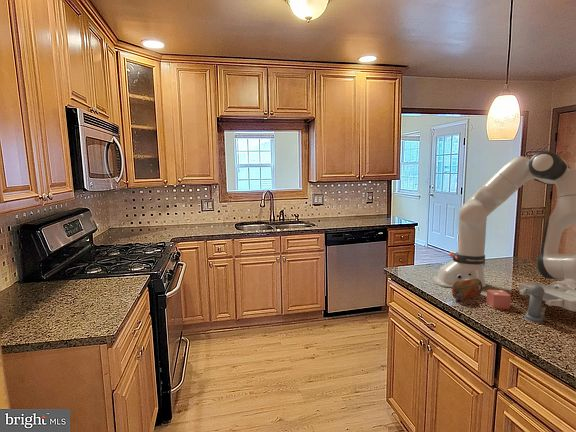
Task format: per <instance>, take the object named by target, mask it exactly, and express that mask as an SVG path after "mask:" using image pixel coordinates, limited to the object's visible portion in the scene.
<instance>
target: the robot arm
mask: <svg viewBox="0 0 576 432" xmlns="http://www.w3.org/2000/svg"><path fill="white" fill-rule="evenodd" d="M530 180H534V181H535V182H539V183H542V184H544V185H549V186H556V194H557V195H556V205H555V208H554V209H553V211H552V212H551V213H550V214H549V215H548V216H547V219H546V221H545V222H546V223H545V225H544V226H545V228H544V232H543V237H542V243H541V248H540V252H539V255H538V258H537V260H536V265H535V266H536V269H537V271H538V273H539V274H540V275H541V276H542V277H543V278H545V279H546V280H557V281H552V282H551V283H549V284H548V285H546V284H544V283H540V282H537V281H522V282H520V283H519V285H518V290H519V296H523V297H526V296H530V293H529V289H530V287H531V286H533V285H539V286H541V287H542V288H543V289H544V291H545V293H544V295H543V298H542V302H543V301H544V302H545V305H547V306H549V307H551V306H554V307H560V308H563V309H565V310H568V311H570V312H576V253H559V249H560V245H561V244H560V243H561V238H562V235H563V232H564V231H565V230H566V229H568V228H569V227H571V226H573V225H576V168H570V166H569V165H568V163H567V162H566V160H565V159H564V158H563V157H561V156H560V155H559V154H558V153H555V152H554V151H549V150H542V151H539V152H537V153H535V154H534V155H532V157H531V158H528V157H526V156H522V155H520V156H516V157H514V158H512V159H510V160H509V161H508V162H506V164H504V165H503V166H501V167H500V169H498V170H497V171H496V172H495V173H494V174H493V175H492V176H491V177H490V178H489V179H488V180H487V181H486V182H485V183H483V185H482V186H481V187H480V188H479V189H478V190H477V191H475V192H474V194H472V196H471V197H469V198H468V199H467V200H466V202H464V203H463V204H462V206H461V207H460V208H459V211H458V224H457V225H458V227H457V228H458V237H457V238H458V240H457V252H453V251H450V252H449V256H450V257H451V258H452V260H450V261H449V262H447V263H445V264H444V265H442V266H440V268H439V270H438V273H437V274H438V275H434V276H432V280H433V282H434V283H435V284H436V285H438V286H440V287H443V288H452V287H453V285H454V283H455V282H456V281H458V280H463V279H467V278H476V279H479V280H480V281H481V283H482V288H485V287H486V286H487V283H486V278H485V264H486V255H485V248H486V238H487V237H486V236H487V235H486V233H487V230H486V229H487V220H488V219H487V218H488V216H489V215H491V213H493V212H494V211H495V210H496V209H497V208H498V207H500V206H501V205H502V204H503V203H505V202H506V201H508V199H509V198H510V197H511V196H513V194H515V192H517V191H518V190H519V188H521V187H522V186H523V185H524V184H526V182H528V181H530Z"/></svg>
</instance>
